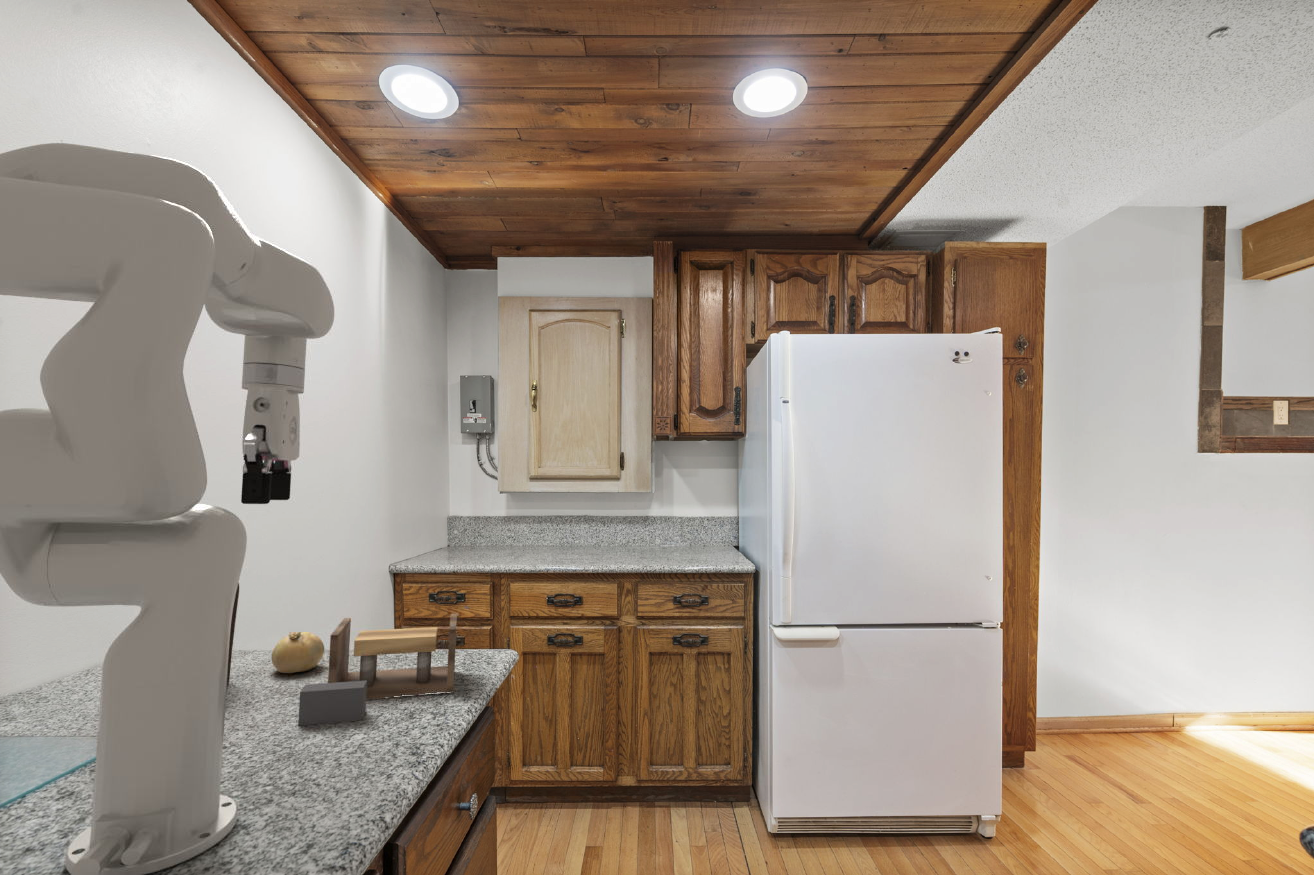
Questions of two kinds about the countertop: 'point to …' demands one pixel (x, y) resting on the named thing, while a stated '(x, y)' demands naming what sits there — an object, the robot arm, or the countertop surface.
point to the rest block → (332, 702)
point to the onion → (297, 652)
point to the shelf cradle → (391, 680)
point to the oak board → (395, 641)
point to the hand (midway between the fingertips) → (266, 501)
